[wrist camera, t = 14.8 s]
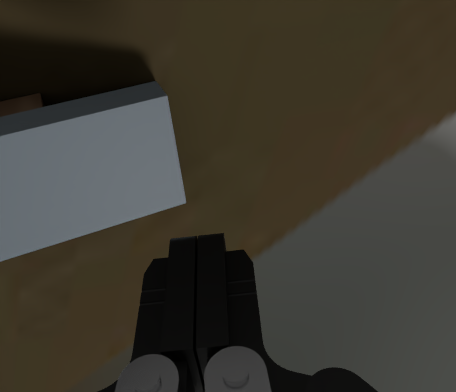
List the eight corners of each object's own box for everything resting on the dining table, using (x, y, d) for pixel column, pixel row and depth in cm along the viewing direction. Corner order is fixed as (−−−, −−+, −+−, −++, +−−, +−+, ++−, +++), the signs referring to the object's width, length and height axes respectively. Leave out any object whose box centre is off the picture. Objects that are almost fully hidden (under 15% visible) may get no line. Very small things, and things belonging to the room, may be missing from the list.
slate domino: (175, 183, 20) (-62, 255, 17) (155, 80, 17) (-135, 148, 14) (186, 202, 19) (-67, 282, 16) (167, 95, 16) (-148, 172, 13)
